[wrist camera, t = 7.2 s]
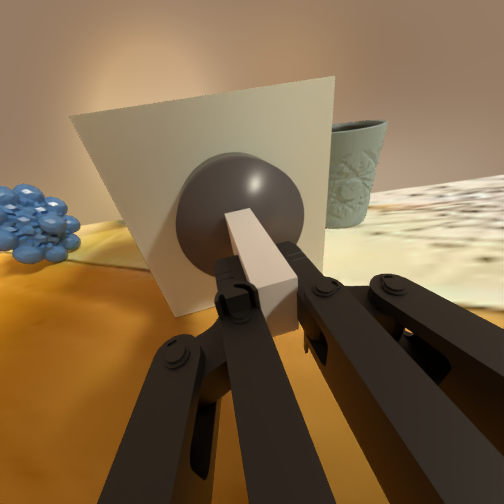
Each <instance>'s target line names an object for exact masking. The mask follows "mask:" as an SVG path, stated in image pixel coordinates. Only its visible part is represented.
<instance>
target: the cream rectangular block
mask: <svg viewBox="0 0 504 504" xmlns="http://www.w3.org/2000/svg"><path fill="white" fill-rule="evenodd" d="M334 88H335V76H331V77H324V78H318V79H311V80H304V81H298V82H291V83H284V84H278V85H271V86H265V87H258V88H252V89H245V90H239V91H232V92H225V93H218V94H212V95H205V96H199V97H193V98H186V99H179V100H173V101H166V102H159V103H153V104H146V105H140V106H133V107H127V108H120V109H113V110H107V111H100V112H94V113H87V114H80V115H73V116H69V118H70V119H71V121H72V123H73V125H74V127H75V129H76V131H77V133H78V135H79V137H80V138H81V140H82V142H83V144H84V146H85V148H86V150H87V152H88V154H89V156H90V157H91V159H92V161H93V163H94V165H95V167H96V169H97V171H98V172H99V174H100V176H101V178H102V180H103V182H104V184H105V186H106V188H107V189H108V192H109V193H110V195H111V197H112V199H113V201H114V203H115V205H116V207H117V209H118V211H119V212H120V214H121V216H122V218H123V220H124V222H125V224H126V226H127V228H128V229H129V231H130V233H131V235H132V237H133V239H134V241H135V243H136V245H137V247H138V248H139V250H140V252H141V254H142V256H143V258H144V260H145V262H146V264H147V266H148V267H149V269H150V271H151V273H152V275H153V277H154V279H155V281H156V283H157V284H158V286H159V288H160V290H161V292H162V294H163V296H164V298H165V300H166V302H167V303H168V305H169V307H170V309H171V311H172V313H173V315H174V317H175V318H176V317H180V316H183V315H187V314H190V313H194V312H197V311H201V310H205V309H208V308H212V307H215V304H214V299H215V295H216V293H217V292H218V291H217V285H216V278H215V277H213V276H210V275H208V274H206V273H204V272H202V271H201V270H199V269H198V268H196V267H195V266H194V265H193V264H192V263H191V262H190V261H189V260H188V259H187V257H186V256H185V255H184V253H183V251H182V249H181V247H180V245H179V242H178V239H177V234H176V215H177V209H178V203H179V196H180V193H181V189H182V187H183V185H184V183H185V181H186V179H187V178H188V176H189V175H190V173H191V172H192V171H193V170H194V169H195V168H196V167H197V166H198V165H200V164H201V163H202V162H204V161H205V160H207V159H209V158H211V157H213V156H216V155H219V154H223V153H229V152H241V153H247V154H251V155H254V156H256V157H258V158H260V159H262V160H264V161H266V162H268V163H270V164H272V165H273V166H275V167H277V168H279V169H280V170H282V171H283V172H284V173H286V174H287V175H288V176H289V177H290V178H291V180H292V181H293V182H294V184H295V185H296V186H297V188H298V190H299V192H300V195H301V197H302V201H303V205H304V224H303V229H302V232H301V235H300V238H299V240H298V242H297V244H296V245H297V246H298V247H299V248H300V249H301V250H302V252H303V253H304V254H305V255H306V256H307V257H308V258H309V259H310V261H311V262H312V263H313V264H314V265H315V266H316V267H317V269H318V270H319V271H320V272H321V273H322V270H323V255H324V239H325V224H326V209H327V194H328V179H329V164H330V148H331V133H332V118H333V102H334Z"/></svg>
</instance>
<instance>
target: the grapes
mask: <svg viewBox="0 0 504 504" xmlns="http://www.w3.org/2000/svg"><path fill="white" fill-rule="evenodd" d="M67 210H68V208H67V205H66V204H65V203H64V202H63V201H62V200H60V199H58V198H54V197H47V198H45V196H44V194H43V193H42V192H41V191H40V190H39V189H38V188H36V187H34V186H31V185H26V184H21V185H17V186H16V187H15V188H14V190H11V189H9V188H7V187H4V186H0V251H9V250H13V252H12V253H13V257H14V258H15V259H16V260H17V261H19V262H21V263H24V264H35V263H38V262H40V261H42V260H43V259H44V258H45V259H46V260H48V261H50V262H60V261H63V260H65V259H66V258H67V257H68V251H67V250H74V249H76V248H78V247H79V246H80V243H81V241H80V239H79V237H78V236H77V235H75V234H73V233H74V232H77V231H78V230H79V229H80V222H79V221H78V220H77V219H76V218H74V217H73V216H67V215H65V214H66V213H67Z"/></svg>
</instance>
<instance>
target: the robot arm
mask: <svg viewBox="0 0 504 504" xmlns="http://www.w3.org/2000/svg"><path fill="white" fill-rule="evenodd" d="M225 218H226V222H227V227H228V231H229V236H230V240H231V244H232V249H233V253H234V256H230V257H226V258H222V259H218V260H217V261H216V263H215V266H214V272H215V278H216V285H217V291H218V292H217V293H216V295H215V299H214V304H215V307H216V309H217V312H218V315H219V317H218V319H217V321H216V322H215V323H214V324H213V326H212V327H210V328H209V329H208V330H206V331H205V332H203V333H202V334H200V335H198V336H197V337H194V336H192V335H187V334H182V335H178V336H174V337H173V338H171V339H169V340H168V341H166V342H165V343H164V344H163V345H162V346H161V347H160V348H159V349H158V351H157V353H156V354H155V356H154V358H153V361H152V363H151V366H150V368H149V371H148V373H147V376H146V379H145V381H144V384H143V386H142V389H141V392H140V394H139V397H138V399H137V402H136V405H135V407H134V410H133V412H132V415H131V417H130V420H129V423H128V425H127V428H126V430H125V433H124V436H123V438H122V441H121V443H120V446H119V448H118V451H117V454H116V456H115V459H114V461H113V464H112V467H111V469H110V472H109V474H108V477H107V480H106V482H105V485H104V487H103V490H102V492H101V495H100V498H99V500H98V503H97V504H211V500H212V490H213V479H214V469H215V458H216V448H217V437H218V427H219V416H220V406H221V397H222V396H224V395H225V394H226V393H227V392H229V391H230V390H231V391H232V397H233V404H234V410H235V416H236V423H237V429H238V435H239V442H240V448H241V454H242V461H243V467H244V473H245V480H246V486H247V492H248V499H249V504H336V501H335V499H334V496H333V494H332V491H331V488H330V486H329V483H328V481H327V478H326V475H325V473H324V470H323V468H322V465H321V463H320V460H319V457H318V455H317V452H316V450H315V447H314V444H313V442H312V439H311V437H310V434H309V431H308V429H307V426H306V424H305V421H304V418H303V416H302V413H301V411H300V408H299V406H298V403H297V400H296V398H295V395H294V393H293V390H292V387H291V385H290V382H289V380H288V377H287V374H286V372H285V369H284V367H283V364H282V361H281V359H280V356H279V354H278V351H277V349H276V346H275V343H274V341H273V338H272V337H275V336H278V335H281V334H284V333H288V332H291V331H294V330H297V329H299V322H300V324H301V326H302V328H303V330H304V350H305V353H308V347H309V349H310V351H311V353H312V355H313V357H314V359H315V361H316V363H317V365H318V367H319V369H320V370H321V372H322V374H323V376H324V378H325V380H326V382H327V384H328V386H329V388H330V390H331V392H332V393H333V395H334V397H335V399H336V401H337V403H338V405H339V407H340V409H341V411H342V413H343V415H344V416H345V418H346V420H347V422H348V424H349V426H350V428H351V430H352V432H353V434H354V436H355V438H356V439H357V441H358V443H359V445H360V447H361V449H362V451H363V453H364V455H365V457H366V459H367V461H368V462H369V464H370V466H371V468H372V470H373V472H374V474H375V476H376V478H377V480H378V482H379V484H380V485H381V487H382V489H383V491H384V493H385V495H386V497H387V499H388V501H389V503H390V504H504V329H502V328H500V327H498V326H497V325H495V324H493V323H491V322H489V321H487V320H485V319H483V318H481V317H479V316H477V315H475V314H474V313H472V312H470V311H468V310H466V309H464V308H462V307H460V306H458V305H456V304H454V303H452V302H451V301H449V300H447V299H445V298H443V297H441V296H439V295H437V294H435V293H433V292H431V291H429V290H428V289H426V288H424V287H422V286H420V285H418V284H416V283H414V282H412V281H410V280H408V279H406V278H404V277H401V276H399V275H394V274H379V275H376V276H374V277H373V278H372V279H371V281H370V285H369V286H344V285H343V284H342V283H340V282H339V281H338V280H336V279H333V278H331V277H324V276H323V274H322V273H321V272H320V271H319V270H318V269H317V267H316V266H315V265H314V264H313V263H312V262H311V261H310V259H309V258H308V257H307V256H306V255H305V254H304V253H303V252H302V250H301V249H300V248H299V247H298V246H297V245H296V244H294V243H292V242H290V241H286V242H282V243H278V244H274V242H273V241H272V239H271V238H270V237H269V235H268V234H267V232H266V231H265V229H264V228H263V227H262V225H261V224H260V222H259V221H258V219H257V218H256V216H255V215H254V214H253V212H252V211H251V209H250V208H247V209H243V210H239V211H234V212H230V213H226V214H225ZM298 320H299V322H298ZM405 328H407V329H408V330H410V331H411V332H412V333H410V332H407V331H405Z"/></svg>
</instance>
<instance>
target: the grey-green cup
mask: <svg viewBox="0 0 504 504" xmlns="http://www.w3.org/2000/svg"><path fill="white" fill-rule="evenodd" d="M387 124H388V121H386V120H366V121H357V122H348V123H340V124H333V125H332V133H331V148H330V164H329V179H328V194H327V209H326V224H325V228H348V227H352V226H355V225H358V224H360V223H361V222H362V221H363V220H364V218H365V216H366V213H367V209H368V204H369V200H370V192H371V190H372V186H373V181H374V178H375V168H376V166H377V164H378V160H379V154H380V151H381V148H382V144H383V140H384V136H385V132H386V128H387Z"/></svg>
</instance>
